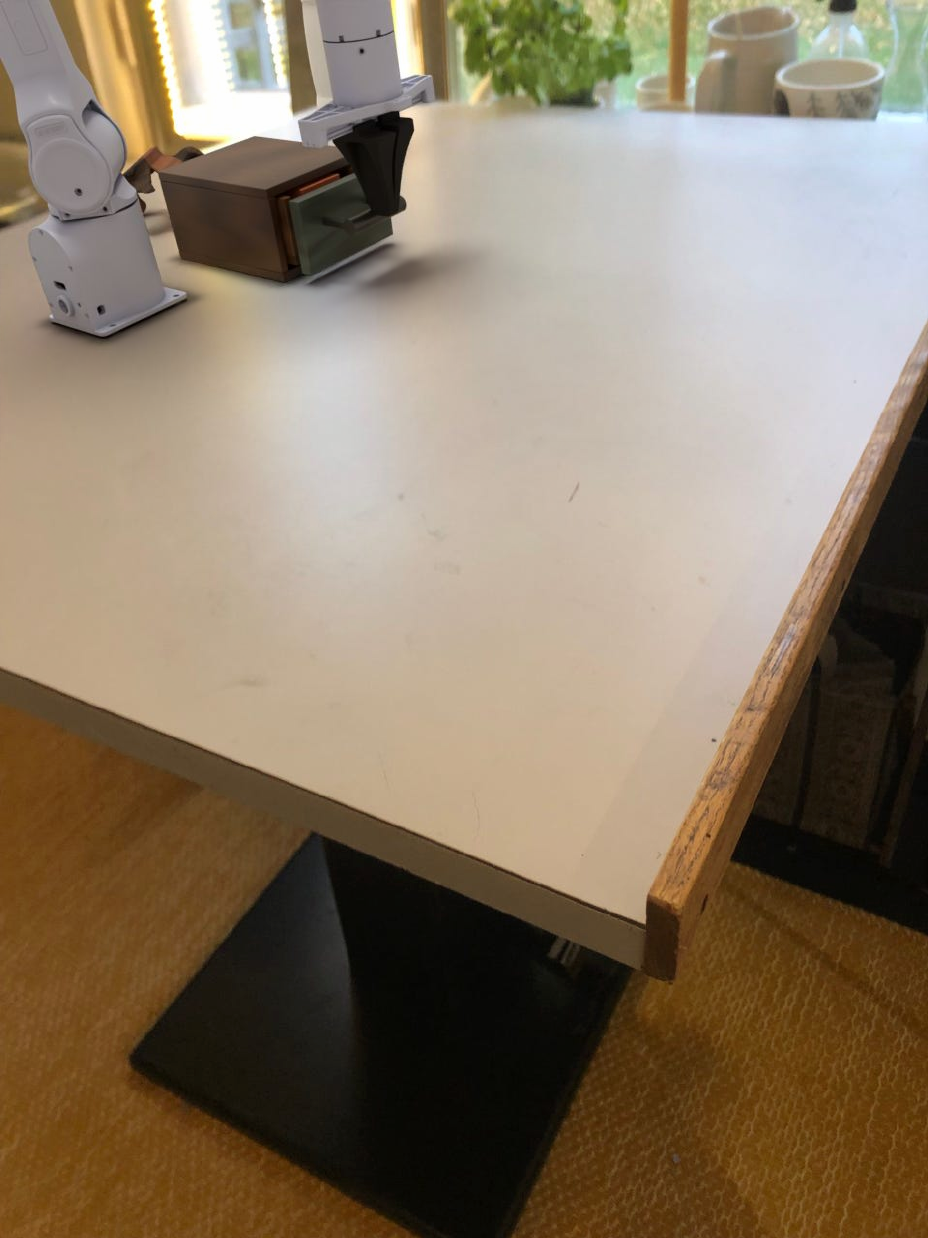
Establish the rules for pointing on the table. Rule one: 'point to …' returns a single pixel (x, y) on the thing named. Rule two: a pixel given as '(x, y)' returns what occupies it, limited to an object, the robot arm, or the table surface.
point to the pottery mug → (155, 168)
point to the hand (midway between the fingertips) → (386, 212)
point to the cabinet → (241, 202)
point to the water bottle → (316, 54)
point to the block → (311, 185)
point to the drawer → (330, 223)
